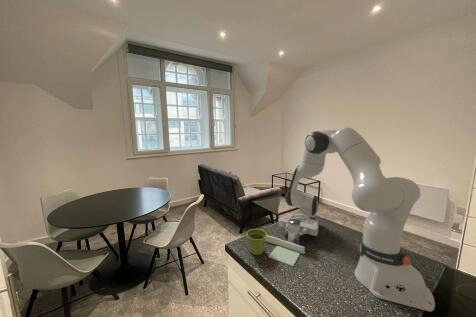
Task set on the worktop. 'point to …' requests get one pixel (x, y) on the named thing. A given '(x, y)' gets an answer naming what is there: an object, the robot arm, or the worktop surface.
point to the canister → (293, 231)
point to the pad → (284, 255)
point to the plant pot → (256, 240)
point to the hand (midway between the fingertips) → (293, 231)
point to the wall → (285, 244)
